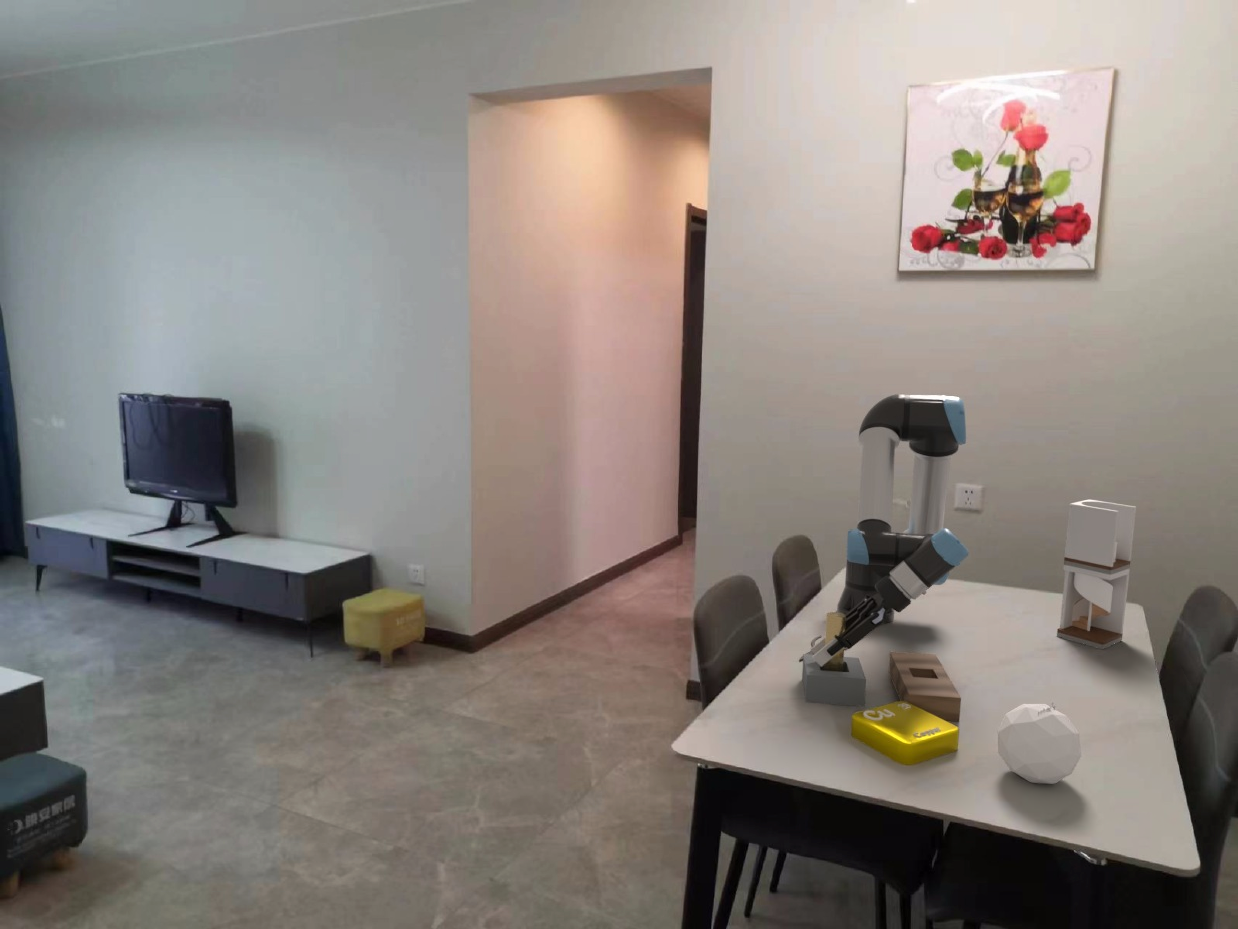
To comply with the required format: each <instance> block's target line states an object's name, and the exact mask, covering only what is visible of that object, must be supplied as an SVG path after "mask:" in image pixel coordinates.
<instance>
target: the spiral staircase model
mask: <svg viewBox="0 0 1238 929" xmlns="http://www.w3.org/2000/svg"><path fill="white" fill-rule="evenodd" d="M1136 513H1137V506H1134V505H1126V504H1121V503H1115V502H1107V501H1101V500H1097V499H1086V500H1084V499H1083V500H1080V501H1075V502H1072V503H1069V508H1068V517H1067V528H1066V538H1065V546H1064V547H1065V549H1064V556H1063V557H1064V558H1063V568H1062V570H1063V571H1064V580H1063V589H1062V591H1063V592H1062V603H1061V609H1060V610H1061V612H1060V624H1059V628H1057V631H1056V637H1058V638H1060V637H1062V638H1061V639H1063V640H1067V641H1071V640H1072V642H1074V641H1075V642H1076V643H1078V644H1081V643H1084V644H1083V645H1085V644H1086V646H1089V647H1093V648H1096V647H1097V649H1099V648H1100V650H1105V649H1107V648H1109V647H1111V645H1112V646H1114V645H1115V644H1114V643H1116V644H1118V643H1120V641H1121V640H1122V641H1123V634H1124V633H1123V632H1124V625H1125V615H1126V607H1127V606H1126V605H1127V595H1128V588H1129V579H1130V569H1131V561H1132V552H1133V551H1132V550H1133V541H1134V533H1135V522H1136V515H1137V514H1136ZM1122 641H1121V642H1122ZM1075 642H1074V643H1075ZM1113 644H1114V645H1113ZM1106 647H1107V648H1106ZM1104 648H1105V649H1104Z"/></svg>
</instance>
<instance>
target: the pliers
mask: <svg viewBox="0 0 1238 929" xmlns="http://www.w3.org/2000/svg"><path fill="white" fill-rule="evenodd" d="M821 638H822V635H818V636H815V637H813V639H812V640H811V641H810V645H811V648H812V647H813V646H814V645H816V641H817V640H819V639H821ZM846 650H849V649H848V648H847V647H846V648H844V651H846ZM805 654H809V655H814V653H813V652H812V651H811V650H810V651H808V652H806V653H805ZM798 661H799V663H801V662H803V655H801V657H800V658H799V660H798Z"/></svg>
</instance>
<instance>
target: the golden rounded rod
mask: <svg viewBox="0 0 1238 929" xmlns="http://www.w3.org/2000/svg"><path fill="white" fill-rule="evenodd" d="M845 626H846V615H845V614H843V613H838V612H837V611H835V612H834V611H831V612H828V613H826V622H825V636H826V637H825V636H824V637H825V645H826V644H828V643H829V642H830V641H831V640H833V639H834V638H835V637H834V636H835V635H837V636H838V637H839V636H840V635H841V634H842V633H843V632H844V631H845ZM844 657H845V650H844V648H843V649H842V650H841V651H840V652H839V653H837V654H836V655H835V656H834V657H833V658H831V659H830V660H829V661H828V662H826V663H825V664H824V671H837V672H843V662H844Z"/></svg>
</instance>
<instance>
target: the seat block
mask: <svg viewBox="0 0 1238 929" xmlns="http://www.w3.org/2000/svg"><path fill="white" fill-rule="evenodd" d="M802 656H803V661H802V671H801V672H802V673H801V681H802V682H801V683H802V689H803V695H804V700H805V703H813V704H815V703H816V704H827V705H828V704H829V705H840V706H841V705H842V706H855V707H856V706H857V707H865V701H866V687H867V686H866V683H867V682H866V681H867V678H866V675H865V672H864V670H863V666H862V663H861V660H860V658H859V657H854V656H853V657H852V656H851V657H850V656H844V662H843V672H837V671H824V665H823V666H822V667H821V666H820V665H819V664H818V663H817V662H816V661H815V660H814V659H813V658H812V656H813V655H809V654H806V653H805V654H804V653H803V654H802Z"/></svg>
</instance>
